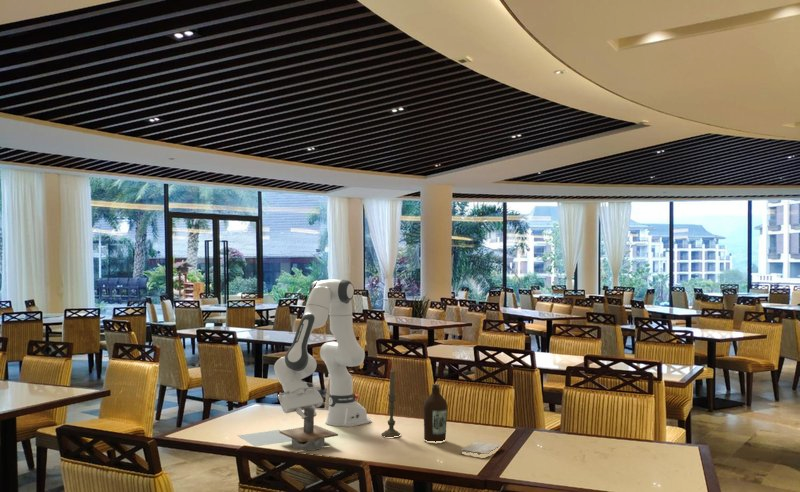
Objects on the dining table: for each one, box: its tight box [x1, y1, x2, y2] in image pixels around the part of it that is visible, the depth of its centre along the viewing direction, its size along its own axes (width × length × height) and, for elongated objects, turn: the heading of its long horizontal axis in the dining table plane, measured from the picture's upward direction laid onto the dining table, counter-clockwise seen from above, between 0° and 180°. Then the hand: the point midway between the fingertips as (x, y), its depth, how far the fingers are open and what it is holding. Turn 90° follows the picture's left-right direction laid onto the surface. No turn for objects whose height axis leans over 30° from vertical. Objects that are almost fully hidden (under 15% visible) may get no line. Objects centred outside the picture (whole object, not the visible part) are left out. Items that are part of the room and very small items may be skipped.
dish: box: [291, 438, 326, 451], centre depth 279 cm, size 14×14×5 cm
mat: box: [237, 429, 292, 447], centre depth 289 cm, size 20×20×1 cm
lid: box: [279, 408, 339, 442], centre depth 280 cm, size 18×18×11 cm
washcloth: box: [460, 441, 501, 455], centre depth 276 cm, size 12×18×3 cm, turn 150°
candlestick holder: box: [380, 369, 401, 438], centre depth 300 cm, size 9×9×30 cm
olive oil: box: [423, 383, 448, 442], centre depth 291 cm, size 11×11×25 cm
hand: (309, 417), depth 279 cm, fingers open, 4 cm apart
